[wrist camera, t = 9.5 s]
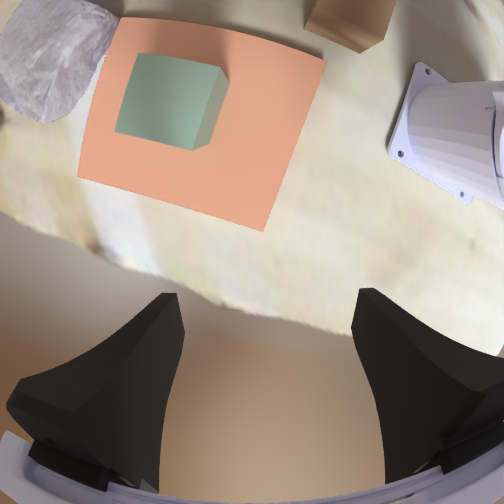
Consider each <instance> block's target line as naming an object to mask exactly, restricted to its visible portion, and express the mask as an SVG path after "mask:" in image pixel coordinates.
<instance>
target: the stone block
mask: <svg viewBox="0 0 504 504" xmlns="http://www.w3.org/2000/svg"><path fill="white" fill-rule="evenodd" d="M120 20H121V19H120V18H119V17H117V16H115V15H114V14H113V13H111V12H109V11H108V10H107V9H105V8H102V7H100V6H98V5H97V4H93V3H90V2H87V1H84V0H23V1H22V2H21V3H20V5H19V6H18V8H17V9H16V10H15V12H14V13H13V15H12V16H11V18H10V19H9V21H8V22H7V24H6V25H5V27H4V29H3V31H2V33H1V34H0V99H1V100H2V101H3V102H4V103H5V104H6V105H8V106H9V107H10V108H12V109H14V110H15V111H16V112H17V114H19V115H21V116H25V117H26V116H27V118H28V119H33V120H36V121H38V122H40V123H42V122H46V123H47V122H53V121H55V120H57V119H59V118H62V117H63V116H65V115H67V114H69V113H70V112H71V111H72V110H73V108H74V107H75V105H76V103H77V102H78V100H79V99H80V98H81V97H82V96H83V94H84V93H85V91H86V90H87V88H88V85H89V83H90V81H91V78H92V76H93V74H94V73H95V71H96V67H97V64H98V62H99V61H100V59H101V57H102V56H103V55H104V54H105V52H106V51H107V50H108V48H109V46H110V44H111V41H112V39H113V36H114V34H115V31H116V29H117V27H118V24H119V22H120Z"/></svg>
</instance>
